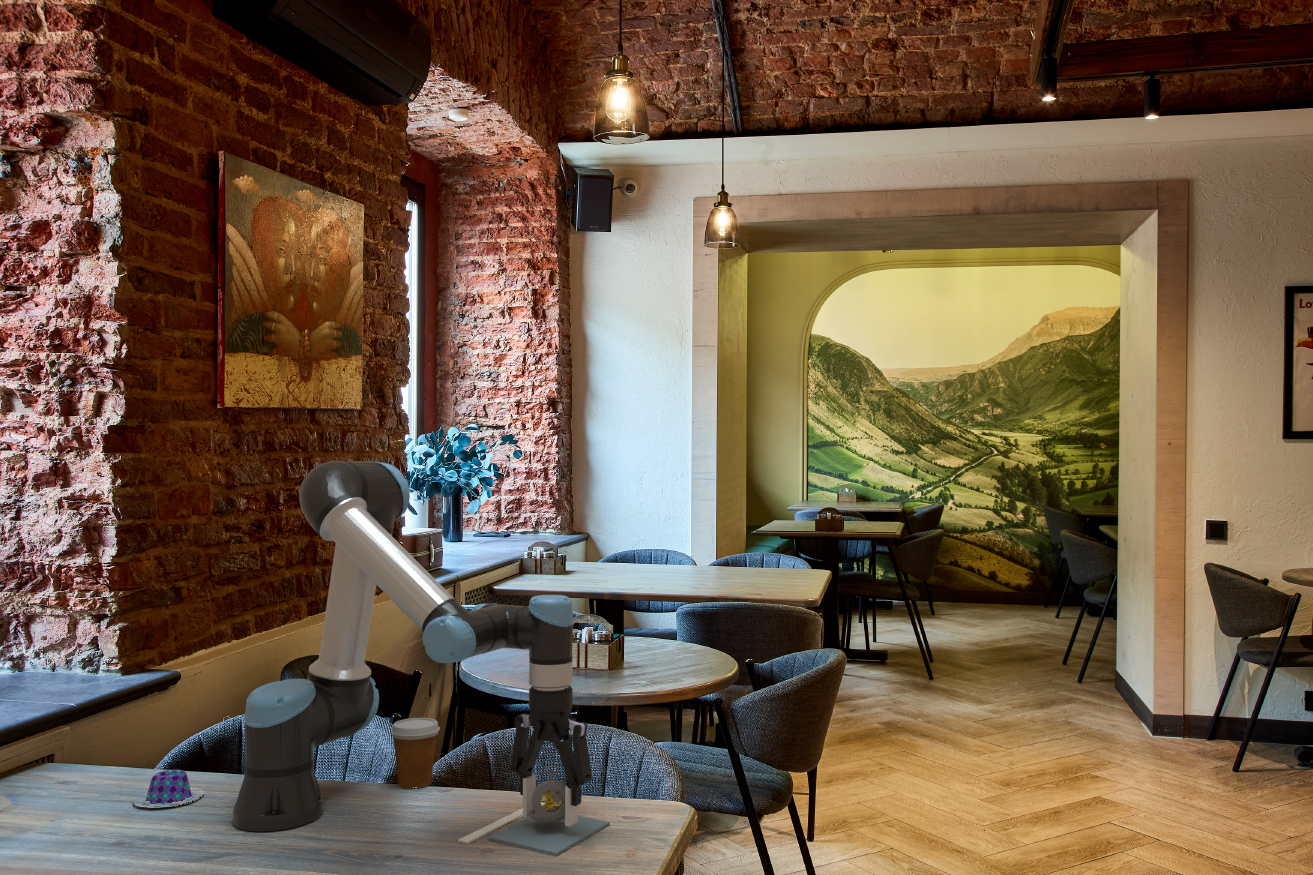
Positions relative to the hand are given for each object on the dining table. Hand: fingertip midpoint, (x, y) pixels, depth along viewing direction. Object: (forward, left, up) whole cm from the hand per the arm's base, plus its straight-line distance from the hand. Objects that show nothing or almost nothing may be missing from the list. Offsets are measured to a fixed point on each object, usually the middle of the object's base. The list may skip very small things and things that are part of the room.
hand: (550, 818), depth 164 cm
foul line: (-10, 0, -2) cm, 10 cm away
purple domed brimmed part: (-73, -22, -3) cm, 76 cm away
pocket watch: (0, 0, 0) cm, 1 cm away
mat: (0, 0, -2) cm, 2 cm away
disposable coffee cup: (-39, +8, -2) cm, 40 cm away
